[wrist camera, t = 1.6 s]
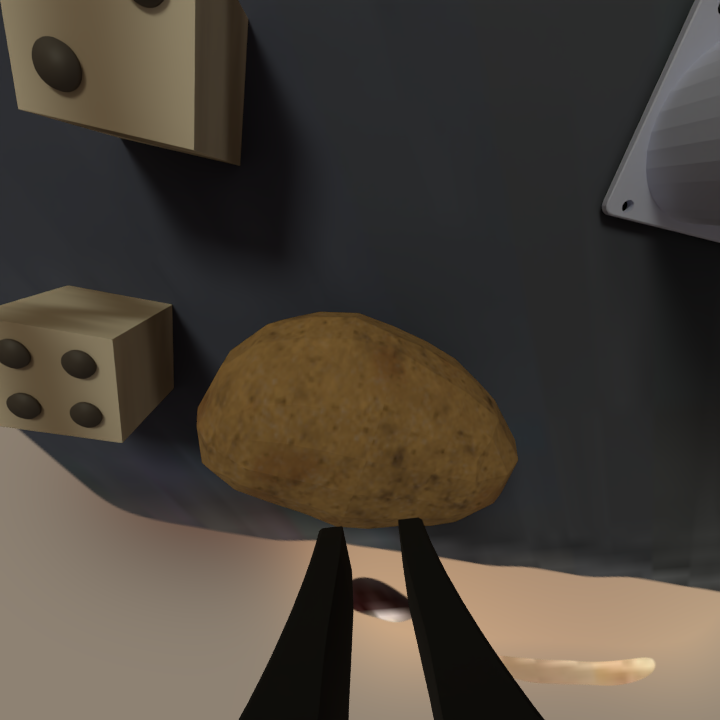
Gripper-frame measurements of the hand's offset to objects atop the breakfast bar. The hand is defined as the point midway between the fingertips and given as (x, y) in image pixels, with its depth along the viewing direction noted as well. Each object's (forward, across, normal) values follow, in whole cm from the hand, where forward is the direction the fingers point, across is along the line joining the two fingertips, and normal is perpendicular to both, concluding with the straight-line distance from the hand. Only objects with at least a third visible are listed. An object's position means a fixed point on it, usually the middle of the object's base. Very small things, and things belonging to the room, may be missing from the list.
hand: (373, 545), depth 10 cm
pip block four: (+10, +12, -4) cm, 17 cm away
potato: (+11, 0, 0) cm, 11 cm away
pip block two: (+10, +6, -15) cm, 19 cm away
